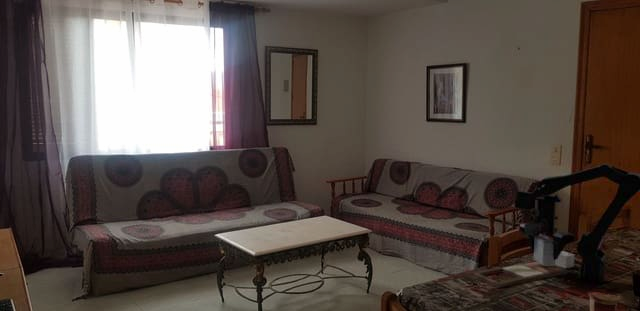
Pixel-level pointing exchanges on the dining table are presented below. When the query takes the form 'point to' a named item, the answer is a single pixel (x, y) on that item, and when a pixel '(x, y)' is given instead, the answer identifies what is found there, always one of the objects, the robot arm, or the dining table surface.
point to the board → (520, 273)
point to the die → (565, 260)
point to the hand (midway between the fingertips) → (544, 255)
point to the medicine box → (544, 251)
